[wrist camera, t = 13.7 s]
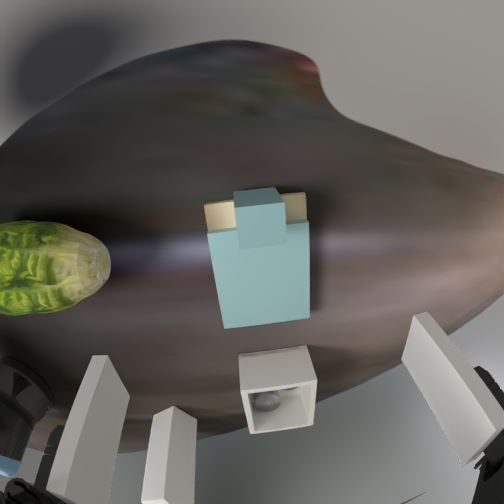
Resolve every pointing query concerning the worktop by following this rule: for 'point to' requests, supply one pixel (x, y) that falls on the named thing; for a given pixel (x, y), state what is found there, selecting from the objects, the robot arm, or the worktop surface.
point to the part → (266, 400)
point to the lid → (261, 262)
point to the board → (224, 213)
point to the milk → (170, 459)
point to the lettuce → (48, 267)
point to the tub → (275, 378)
